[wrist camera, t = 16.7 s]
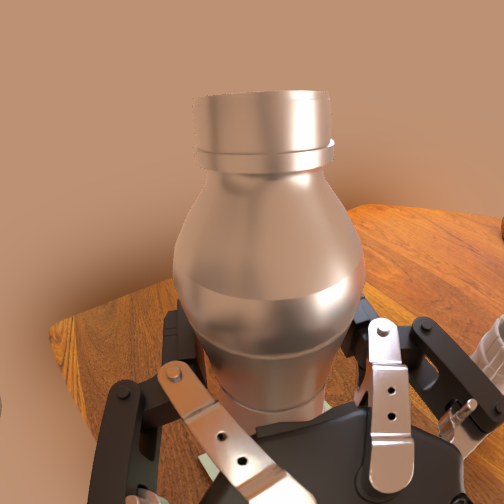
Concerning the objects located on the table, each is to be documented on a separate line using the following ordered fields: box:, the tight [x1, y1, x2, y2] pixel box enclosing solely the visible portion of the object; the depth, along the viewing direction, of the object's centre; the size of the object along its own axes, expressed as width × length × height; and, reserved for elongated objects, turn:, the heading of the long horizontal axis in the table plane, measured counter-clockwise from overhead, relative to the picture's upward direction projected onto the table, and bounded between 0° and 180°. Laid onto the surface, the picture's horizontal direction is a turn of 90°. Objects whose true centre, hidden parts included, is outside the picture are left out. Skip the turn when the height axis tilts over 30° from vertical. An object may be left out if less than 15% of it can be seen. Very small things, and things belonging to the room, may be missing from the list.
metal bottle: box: [173, 91, 366, 436], centre depth 12 cm, size 6×7×20 cm
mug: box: [470, 315, 504, 394], centre depth 19 cm, size 8×12×12 cm, turn 112°
